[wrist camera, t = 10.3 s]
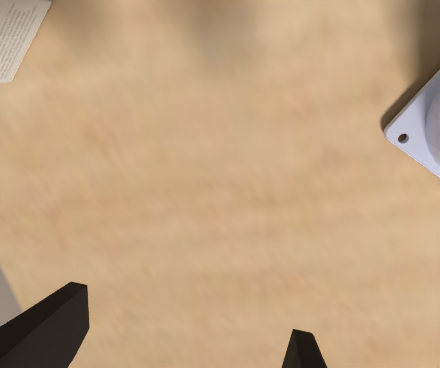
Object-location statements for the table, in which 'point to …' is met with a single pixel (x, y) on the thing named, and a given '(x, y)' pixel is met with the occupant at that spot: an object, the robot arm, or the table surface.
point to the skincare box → (18, 32)
